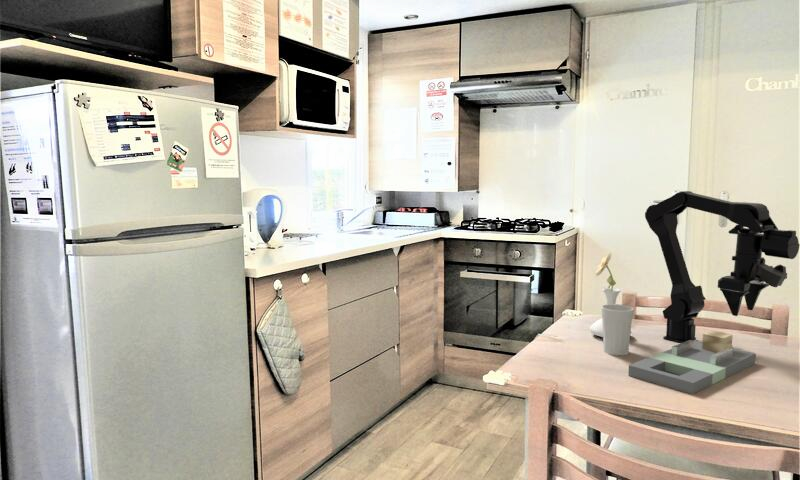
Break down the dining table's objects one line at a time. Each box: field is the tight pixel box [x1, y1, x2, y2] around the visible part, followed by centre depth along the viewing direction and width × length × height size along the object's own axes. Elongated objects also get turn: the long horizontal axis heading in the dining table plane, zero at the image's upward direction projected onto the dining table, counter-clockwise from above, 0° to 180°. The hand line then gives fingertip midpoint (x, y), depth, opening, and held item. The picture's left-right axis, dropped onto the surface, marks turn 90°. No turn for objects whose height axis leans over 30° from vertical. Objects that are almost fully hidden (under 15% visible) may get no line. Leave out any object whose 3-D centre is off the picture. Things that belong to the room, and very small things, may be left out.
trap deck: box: [628, 339, 757, 395], centre depth 142 cm, size 15×32×2 cm, turn 128°
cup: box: [600, 303, 635, 356], centre depth 155 cm, size 8×8×12 cm
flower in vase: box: [589, 251, 632, 338], centre depth 168 cm, size 13×11×25 cm
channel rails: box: [671, 340, 734, 365], centre depth 144 cm, size 10×9×2 cm
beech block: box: [701, 330, 733, 353], centre depth 149 cm, size 5×5×4 cm
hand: (742, 312), depth 151 cm, fingers open, 9 cm apart
